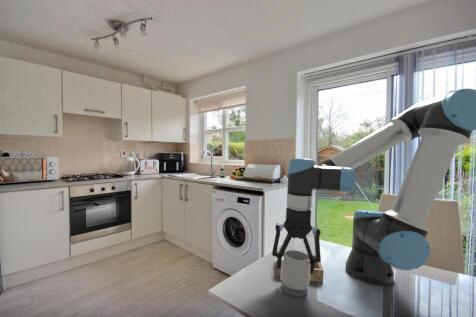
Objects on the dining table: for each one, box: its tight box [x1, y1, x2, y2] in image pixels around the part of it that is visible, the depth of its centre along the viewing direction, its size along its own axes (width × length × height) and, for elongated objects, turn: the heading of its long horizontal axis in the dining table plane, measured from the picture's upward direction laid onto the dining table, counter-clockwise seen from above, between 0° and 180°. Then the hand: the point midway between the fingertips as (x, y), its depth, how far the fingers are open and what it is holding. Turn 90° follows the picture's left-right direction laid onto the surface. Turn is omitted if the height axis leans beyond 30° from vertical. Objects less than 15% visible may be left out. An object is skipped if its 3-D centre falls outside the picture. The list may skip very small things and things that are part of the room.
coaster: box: [281, 281, 309, 297], centre depth 72 cm, size 8×8×1 cm
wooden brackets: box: [276, 250, 325, 284], centre depth 83 cm, size 15×12×4 cm
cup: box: [282, 249, 309, 290], centre depth 71 cm, size 7×10×9 cm
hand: (294, 280), depth 72 cm, fingers closed on cup, 7 cm apart
